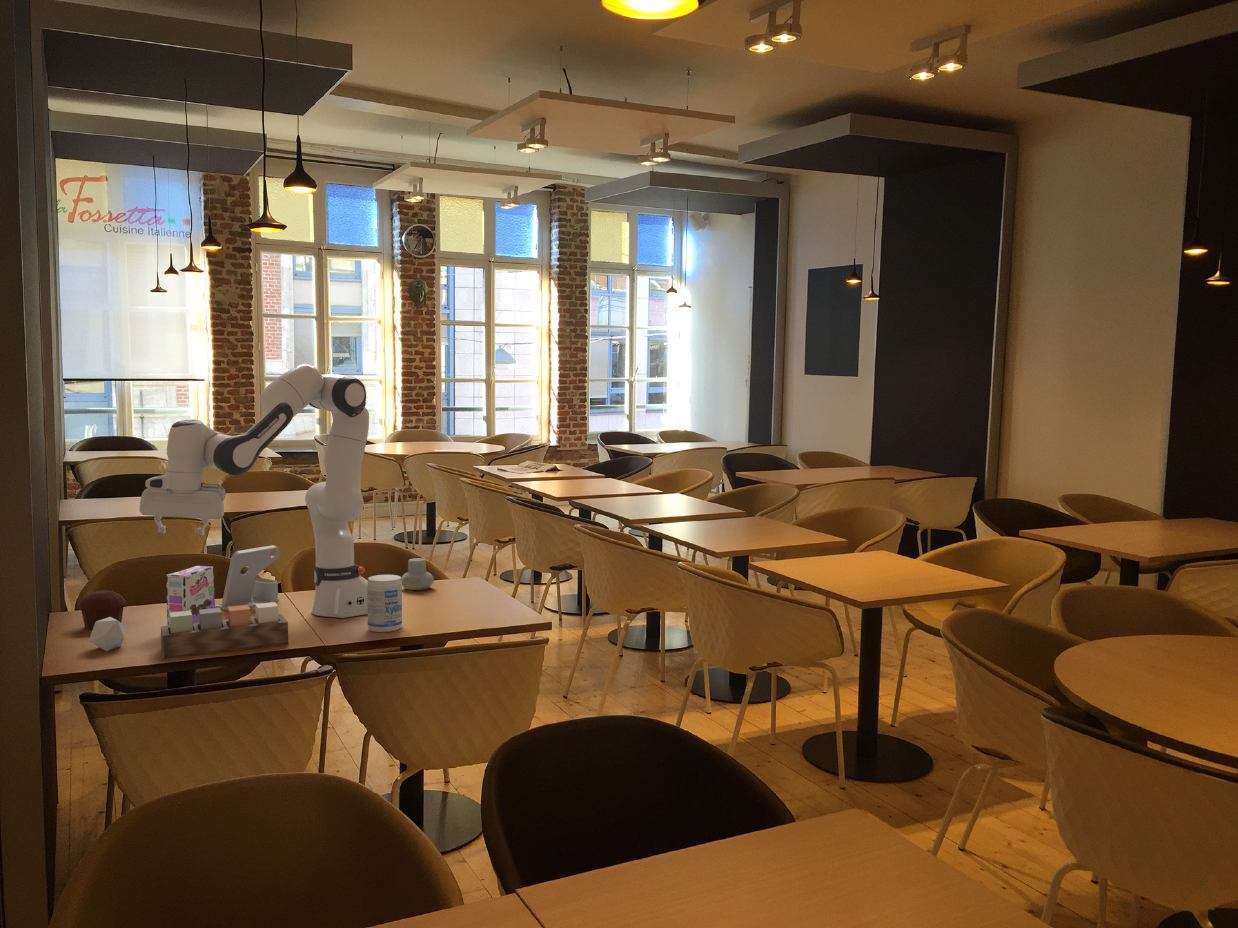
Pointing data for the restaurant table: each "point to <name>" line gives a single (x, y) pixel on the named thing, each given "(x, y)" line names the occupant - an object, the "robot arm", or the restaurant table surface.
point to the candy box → (190, 591)
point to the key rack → (223, 638)
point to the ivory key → (266, 612)
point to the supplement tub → (384, 603)
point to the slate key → (210, 618)
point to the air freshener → (417, 575)
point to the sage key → (181, 621)
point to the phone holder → (250, 579)
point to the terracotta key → (239, 615)
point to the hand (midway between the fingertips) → (181, 534)
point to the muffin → (101, 607)
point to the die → (108, 634)
